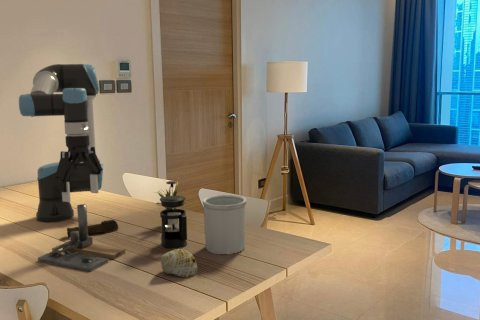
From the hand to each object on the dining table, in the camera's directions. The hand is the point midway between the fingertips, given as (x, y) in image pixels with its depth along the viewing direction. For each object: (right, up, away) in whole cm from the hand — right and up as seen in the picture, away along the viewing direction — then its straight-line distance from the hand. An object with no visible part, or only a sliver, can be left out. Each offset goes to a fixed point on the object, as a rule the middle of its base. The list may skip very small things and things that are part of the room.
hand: (81, 197), depth 165 cm
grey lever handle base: (+2, -20, -2) cm, 20 cm away
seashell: (+35, -22, -16) cm, 45 cm away
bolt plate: (0, -21, -7) cm, 22 cm away
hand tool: (-3, -16, +22) cm, 27 cm away
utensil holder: (+49, -18, +5) cm, 52 cm away
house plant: (+25, -14, +30) cm, 42 cm away
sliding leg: (-2, -18, -1) cm, 18 cm away
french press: (+31, -18, +8) cm, 37 cm away
